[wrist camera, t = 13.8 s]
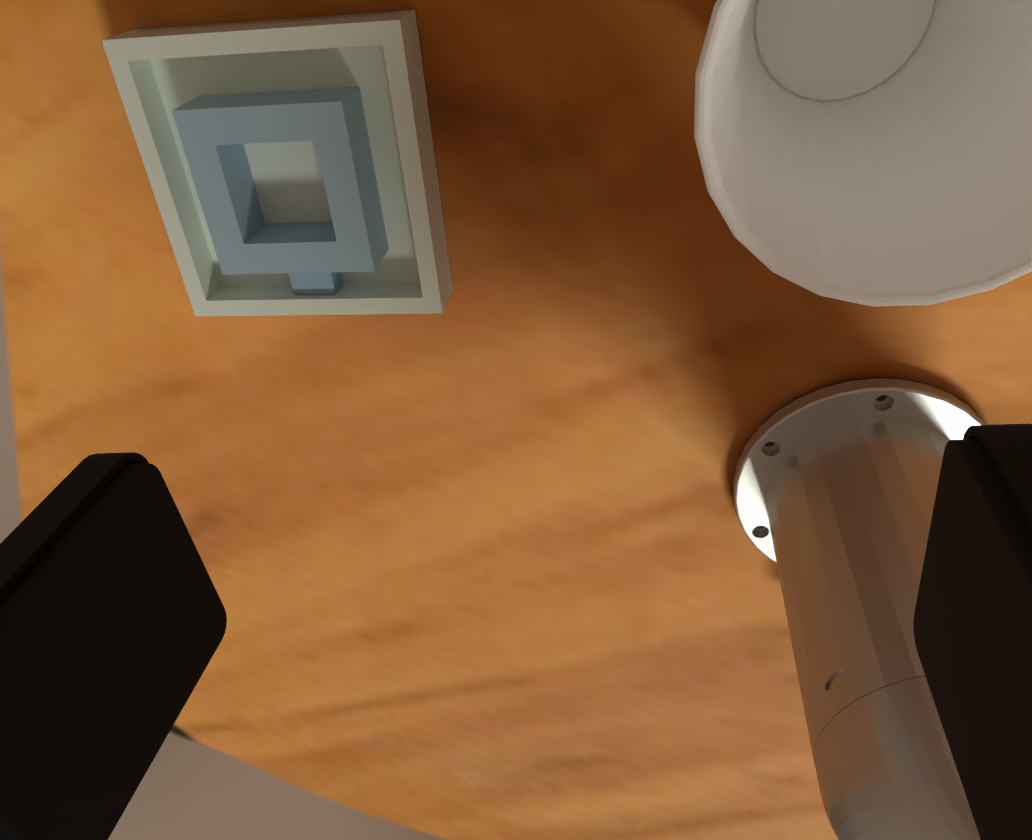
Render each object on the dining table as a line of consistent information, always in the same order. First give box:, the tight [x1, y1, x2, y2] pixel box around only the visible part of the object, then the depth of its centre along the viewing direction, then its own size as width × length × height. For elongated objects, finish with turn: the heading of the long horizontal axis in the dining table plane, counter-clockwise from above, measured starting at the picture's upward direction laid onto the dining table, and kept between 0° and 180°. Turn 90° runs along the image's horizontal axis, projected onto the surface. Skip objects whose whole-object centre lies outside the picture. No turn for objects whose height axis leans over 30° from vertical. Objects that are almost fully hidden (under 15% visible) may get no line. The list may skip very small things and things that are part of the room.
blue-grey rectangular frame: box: [172, 87, 389, 295], centre depth 34 cm, size 7×9×2 cm
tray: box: [101, 10, 453, 316], centre depth 35 cm, size 12×12×2 cm
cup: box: [694, 0, 1032, 307], centre depth 24 cm, size 12×12×12 cm
